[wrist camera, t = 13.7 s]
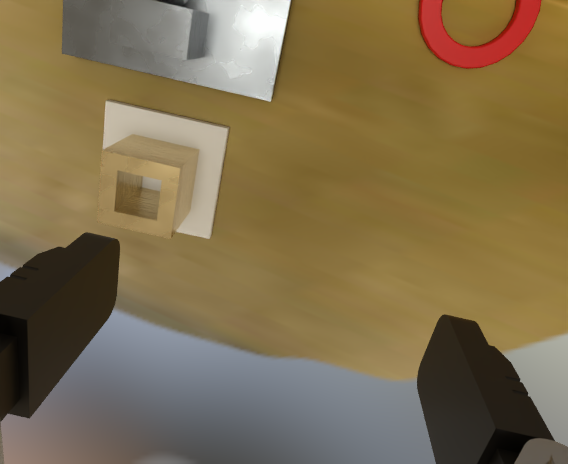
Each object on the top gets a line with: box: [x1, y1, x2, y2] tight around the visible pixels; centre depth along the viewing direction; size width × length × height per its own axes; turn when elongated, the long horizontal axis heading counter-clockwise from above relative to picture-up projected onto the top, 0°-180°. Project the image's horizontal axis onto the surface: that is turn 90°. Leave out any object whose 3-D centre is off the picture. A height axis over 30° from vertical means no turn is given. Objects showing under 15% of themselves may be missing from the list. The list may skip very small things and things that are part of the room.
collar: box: [97, 134, 200, 239], centre depth 36 cm, size 6×6×6 cm
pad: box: [103, 100, 230, 239], centre depth 39 cm, size 10×10×1 cm
